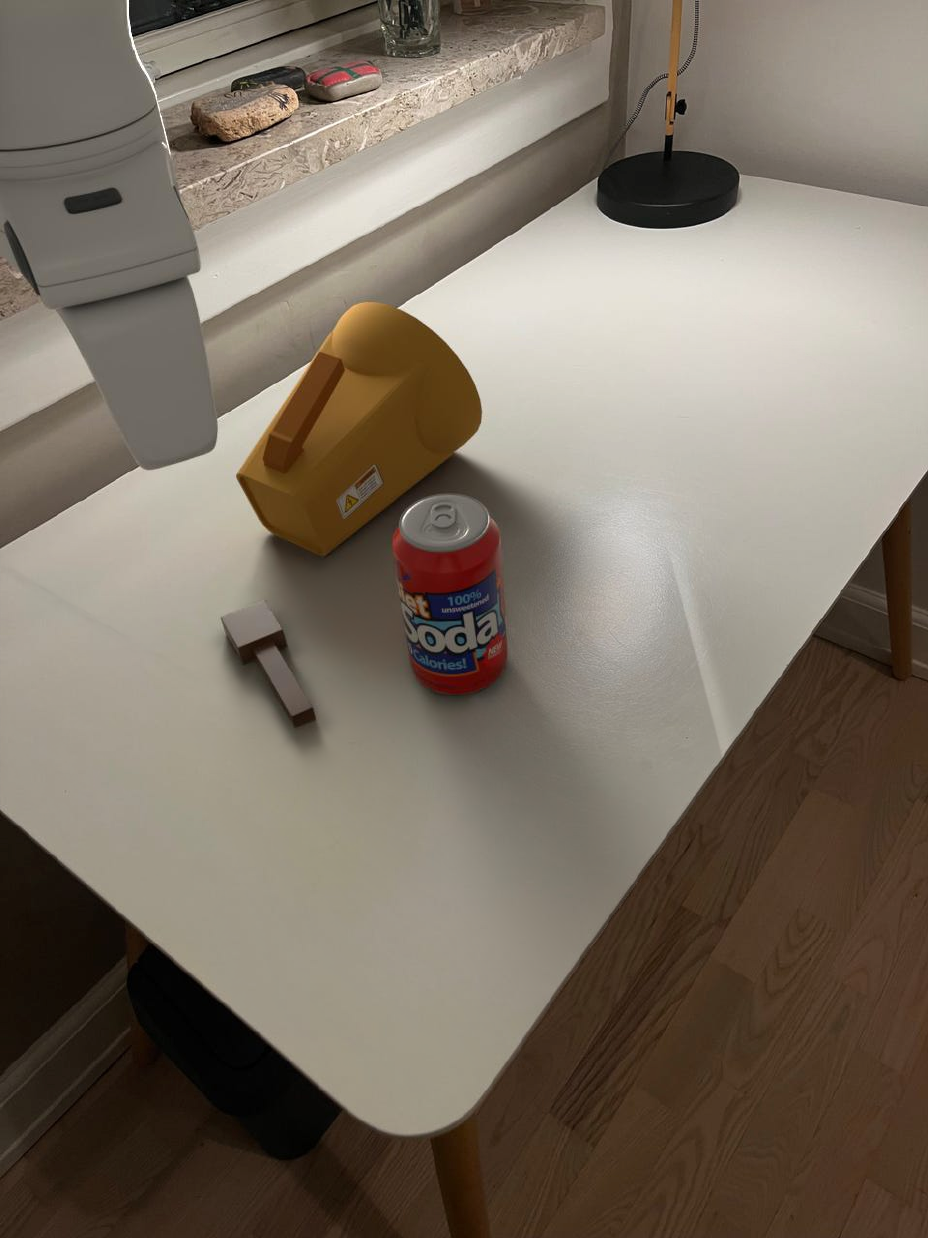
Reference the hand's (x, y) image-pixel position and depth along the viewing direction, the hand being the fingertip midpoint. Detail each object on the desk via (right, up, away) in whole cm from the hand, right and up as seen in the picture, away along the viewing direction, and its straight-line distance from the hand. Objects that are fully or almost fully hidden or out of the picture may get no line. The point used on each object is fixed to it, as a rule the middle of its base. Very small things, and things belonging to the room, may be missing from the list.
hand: (156, 449), depth 55 cm
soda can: (+16, -13, +29) cm, 35 cm away
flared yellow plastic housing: (+6, +3, +47) cm, 47 cm away
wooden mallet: (+1, -13, +30) cm, 32 cm away
